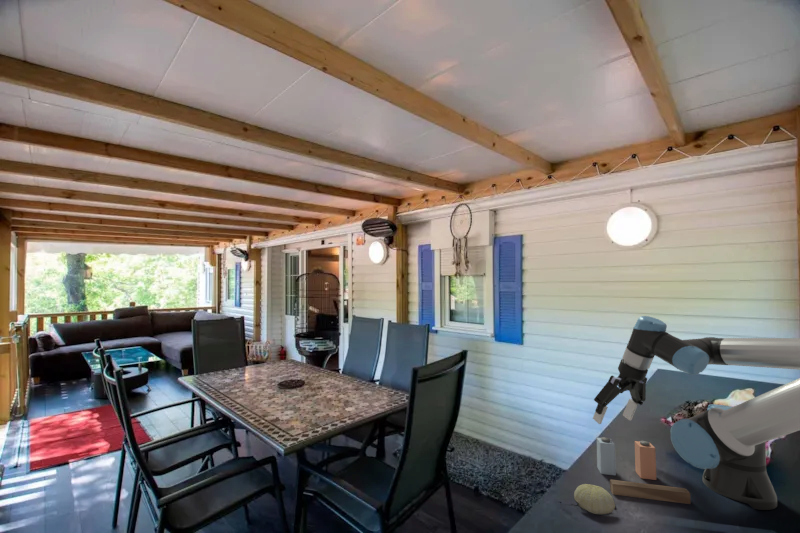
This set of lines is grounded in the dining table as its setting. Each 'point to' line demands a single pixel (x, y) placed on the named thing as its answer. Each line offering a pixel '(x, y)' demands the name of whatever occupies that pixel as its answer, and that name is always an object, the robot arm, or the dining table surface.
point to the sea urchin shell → (594, 499)
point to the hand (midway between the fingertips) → (612, 419)
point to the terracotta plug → (645, 460)
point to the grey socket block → (606, 456)
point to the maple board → (650, 491)
